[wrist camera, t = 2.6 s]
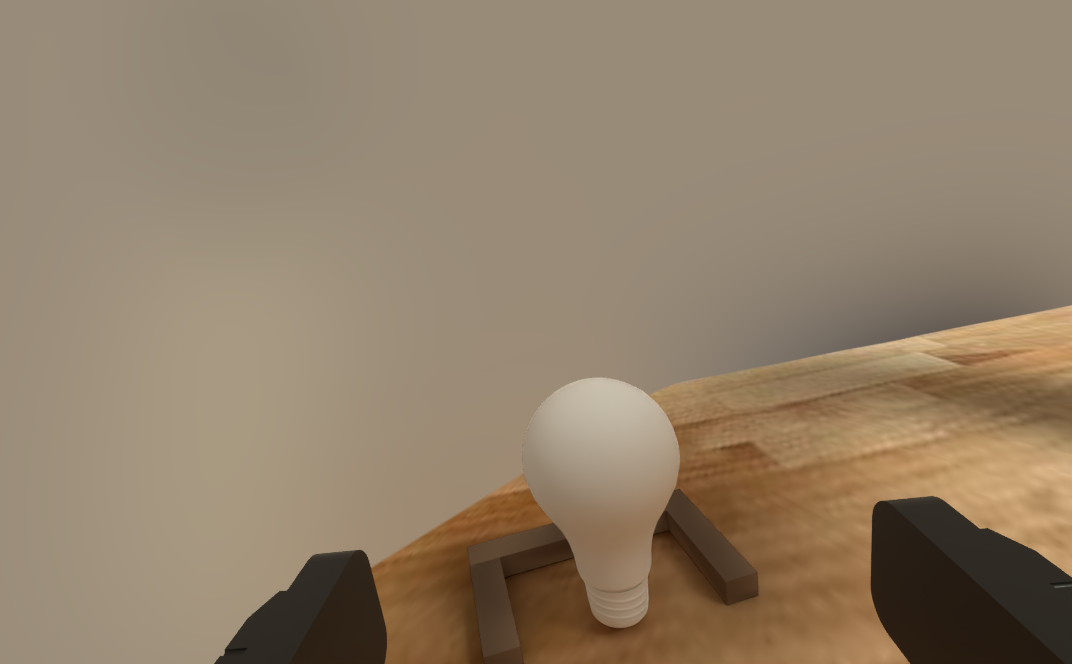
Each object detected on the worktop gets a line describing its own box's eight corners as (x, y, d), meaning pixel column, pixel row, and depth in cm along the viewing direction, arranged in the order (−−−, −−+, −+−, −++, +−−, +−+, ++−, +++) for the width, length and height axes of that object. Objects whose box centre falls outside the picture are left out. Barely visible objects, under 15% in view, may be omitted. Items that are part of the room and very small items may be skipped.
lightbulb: (587, 710, 19) (543, 437, 16) (532, 597, 24) (492, 380, 21) (726, 643, 20) (708, 386, 18) (644, 552, 26) (621, 346, 23)
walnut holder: (680, 507, 29) (679, 488, 29) (758, 595, 22) (757, 572, 22) (471, 566, 27) (466, 547, 27) (488, 681, 20) (483, 658, 20)
